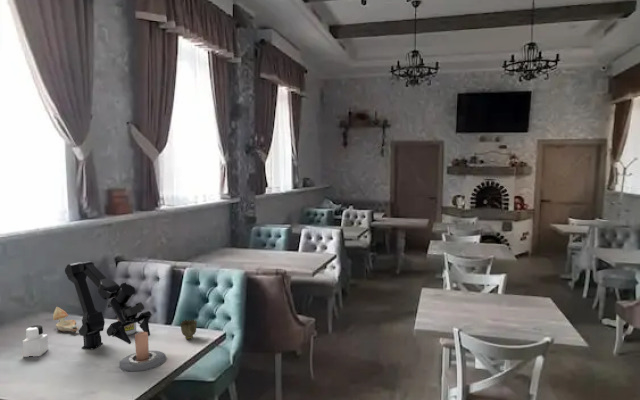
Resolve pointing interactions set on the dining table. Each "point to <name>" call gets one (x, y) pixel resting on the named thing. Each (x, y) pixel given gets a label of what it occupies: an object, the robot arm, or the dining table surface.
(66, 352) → the dining table surface
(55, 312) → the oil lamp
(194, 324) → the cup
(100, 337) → the robot arm
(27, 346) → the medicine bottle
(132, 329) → the decorated jar
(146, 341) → the terracotta peg
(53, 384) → the dining table surface
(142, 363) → the metal collar
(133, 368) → the charcoal plate
